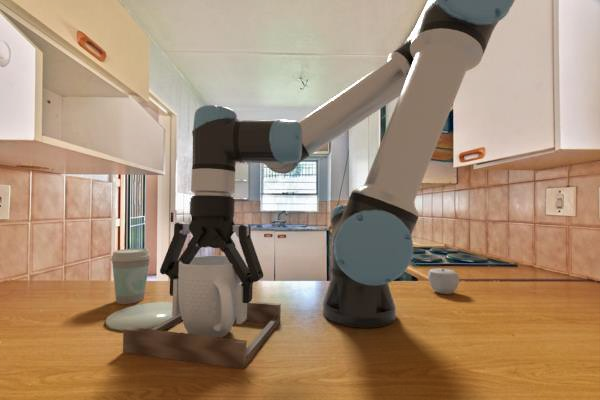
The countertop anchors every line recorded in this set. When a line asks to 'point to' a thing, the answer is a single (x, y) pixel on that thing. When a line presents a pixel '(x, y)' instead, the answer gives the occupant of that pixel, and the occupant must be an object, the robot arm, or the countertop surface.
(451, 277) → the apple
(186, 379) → the countertop surface
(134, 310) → the trivet
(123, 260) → the coffee cup
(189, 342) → the frame
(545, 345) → the countertop surface
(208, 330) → the mug
